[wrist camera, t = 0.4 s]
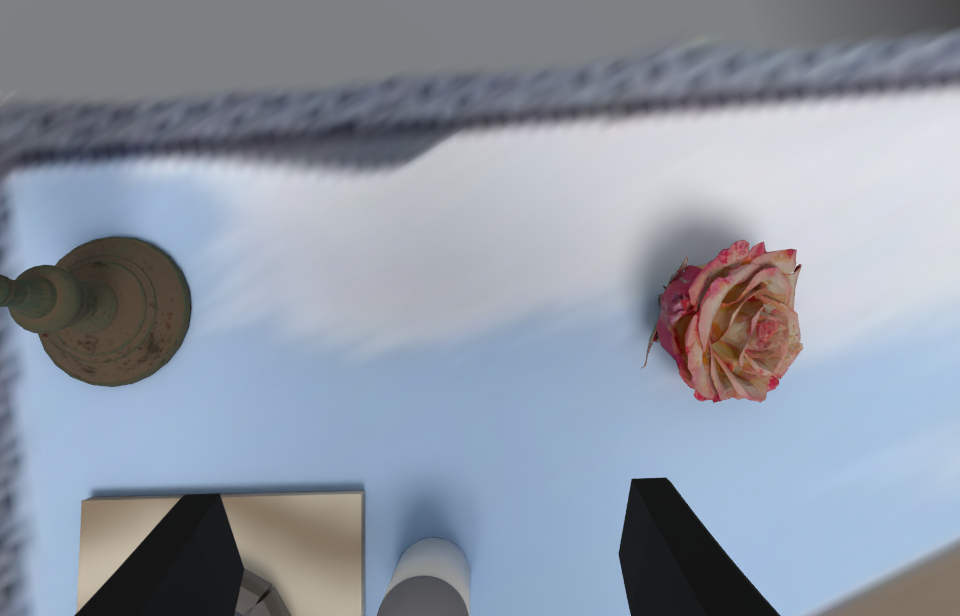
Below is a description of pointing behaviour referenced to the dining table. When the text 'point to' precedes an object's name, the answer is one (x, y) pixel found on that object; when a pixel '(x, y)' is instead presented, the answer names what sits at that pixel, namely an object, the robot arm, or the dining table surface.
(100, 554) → the tan square tray
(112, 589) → the robot arm
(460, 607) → the grey capped cylinder
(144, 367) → the candlestick holder
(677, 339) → the flower
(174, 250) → the dining table surface
